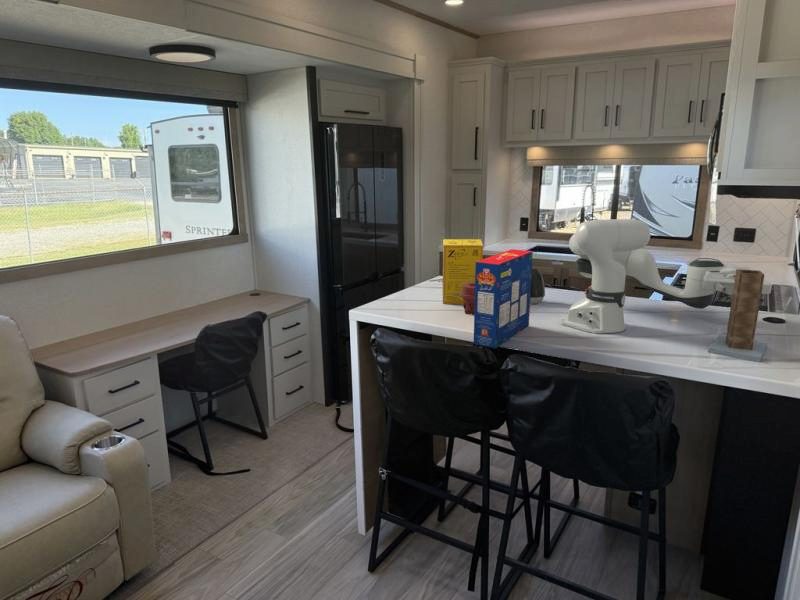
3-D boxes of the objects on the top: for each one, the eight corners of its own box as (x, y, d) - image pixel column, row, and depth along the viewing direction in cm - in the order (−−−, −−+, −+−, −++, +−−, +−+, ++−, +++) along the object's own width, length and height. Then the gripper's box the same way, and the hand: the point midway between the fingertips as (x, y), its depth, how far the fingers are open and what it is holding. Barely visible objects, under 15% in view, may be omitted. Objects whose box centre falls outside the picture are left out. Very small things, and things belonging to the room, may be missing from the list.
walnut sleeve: (728, 347, 175) (740, 273, 169) (725, 341, 181) (736, 269, 175) (752, 350, 173) (764, 274, 167) (748, 343, 179) (759, 270, 173)
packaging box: (443, 294, 250) (443, 239, 244) (479, 294, 249) (480, 239, 242) (442, 303, 235) (443, 245, 228) (481, 304, 233) (482, 245, 227)
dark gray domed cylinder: (543, 299, 239) (545, 265, 235) (545, 306, 229) (547, 270, 225) (519, 299, 241) (521, 264, 237) (520, 305, 231) (521, 269, 227)
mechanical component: (458, 315, 218) (461, 308, 227) (484, 316, 216) (485, 309, 225) (459, 285, 214) (461, 279, 224) (485, 286, 212) (486, 280, 222)
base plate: (707, 352, 176) (711, 328, 174) (718, 339, 188) (721, 317, 186) (759, 362, 167) (763, 337, 165) (767, 347, 179) (771, 324, 177)
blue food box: (508, 322, 208) (511, 249, 201) (528, 326, 203) (532, 251, 196) (473, 343, 186) (475, 261, 179) (495, 348, 181) (498, 264, 174)
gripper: (765, 292, 193) (774, 302, 180) (699, 287, 200) (704, 297, 187) (768, 274, 191) (778, 283, 179) (701, 270, 198) (706, 279, 186)
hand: (739, 290), depth 183 cm, fingers open, 8 cm apart
